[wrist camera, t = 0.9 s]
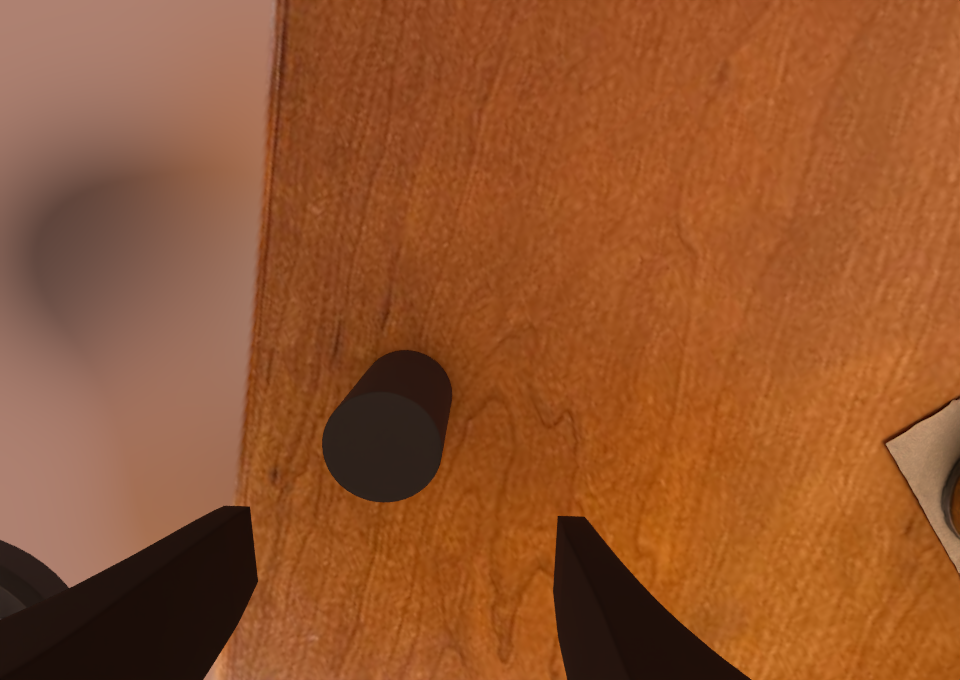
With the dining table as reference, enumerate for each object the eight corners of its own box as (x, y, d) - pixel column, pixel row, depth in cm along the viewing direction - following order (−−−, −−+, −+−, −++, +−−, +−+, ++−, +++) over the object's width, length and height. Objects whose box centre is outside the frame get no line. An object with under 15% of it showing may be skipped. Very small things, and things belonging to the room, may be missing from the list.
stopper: (349, 415, 19) (305, 476, 14) (381, 335, 19) (346, 373, 14) (431, 448, 20) (414, 519, 15) (466, 371, 19) (460, 420, 14)
